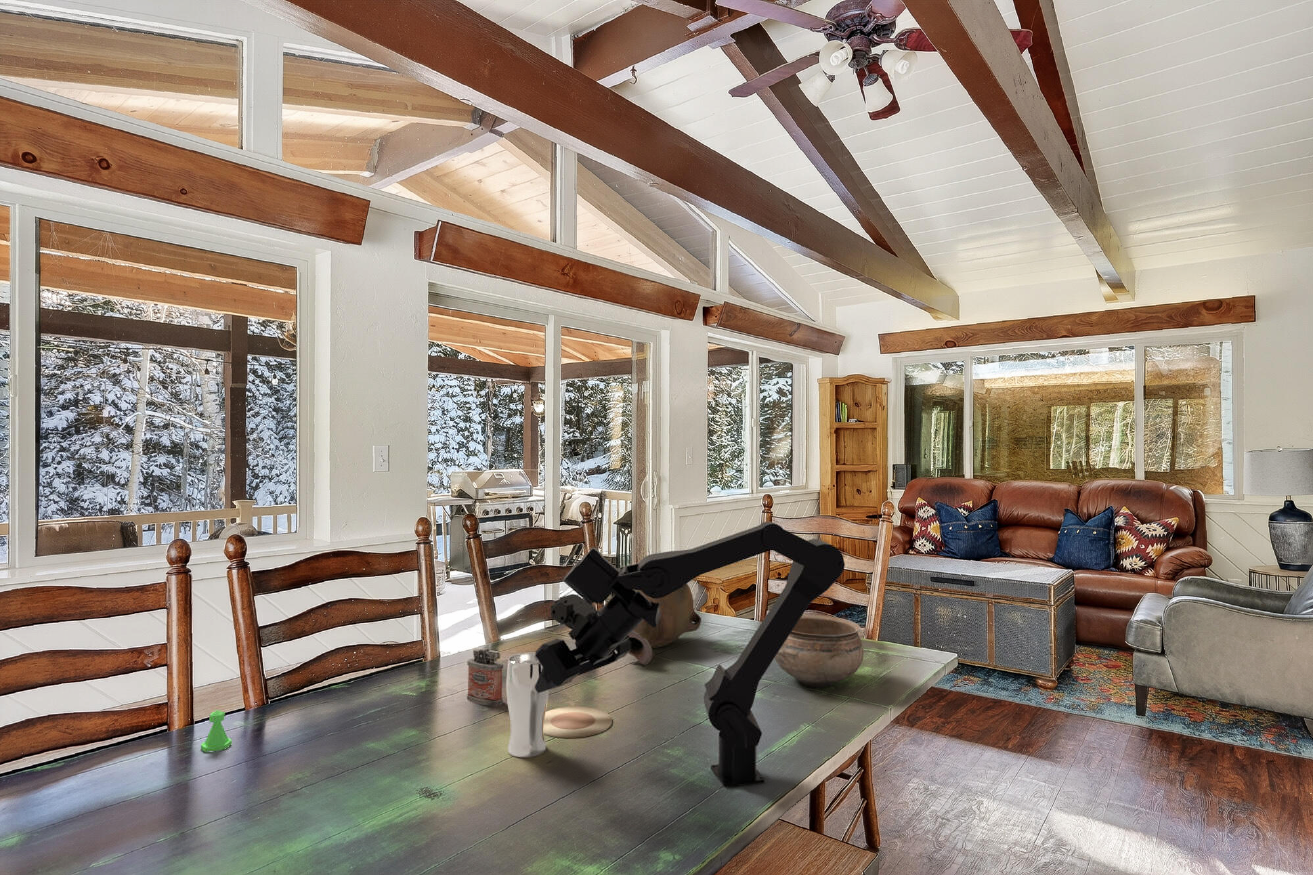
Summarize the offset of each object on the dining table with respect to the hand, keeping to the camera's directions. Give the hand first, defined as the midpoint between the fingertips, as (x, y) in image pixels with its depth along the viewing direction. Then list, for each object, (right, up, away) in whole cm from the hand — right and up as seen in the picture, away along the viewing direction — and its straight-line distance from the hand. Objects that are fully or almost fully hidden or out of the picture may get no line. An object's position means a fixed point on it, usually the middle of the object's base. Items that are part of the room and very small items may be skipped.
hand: (555, 681), depth 116 cm
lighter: (-17, -12, +25) cm, 33 cm away
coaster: (+1, -12, +15) cm, 19 cm away
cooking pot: (+50, -13, +39) cm, 65 cm away
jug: (+14, -13, +62) cm, 65 cm away
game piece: (-56, -12, +3) cm, 57 cm away
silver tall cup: (-5, -12, +3) cm, 14 cm away
